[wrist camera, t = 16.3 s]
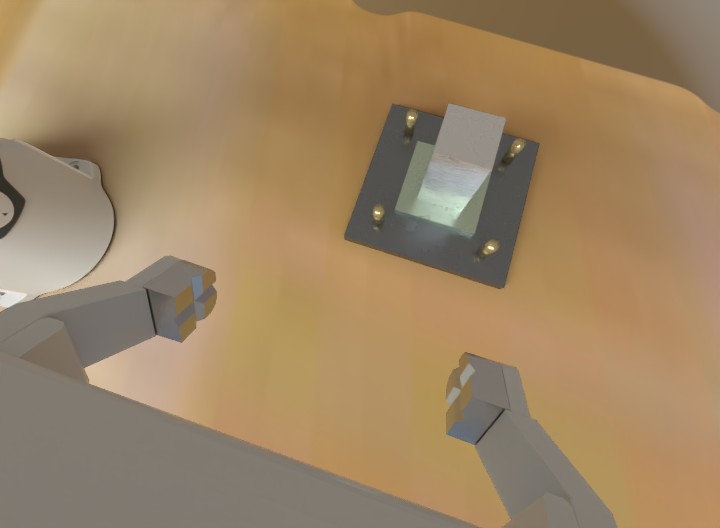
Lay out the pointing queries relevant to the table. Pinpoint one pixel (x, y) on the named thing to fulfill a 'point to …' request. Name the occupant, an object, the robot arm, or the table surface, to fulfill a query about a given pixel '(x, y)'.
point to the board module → (452, 171)
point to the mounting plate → (432, 242)
